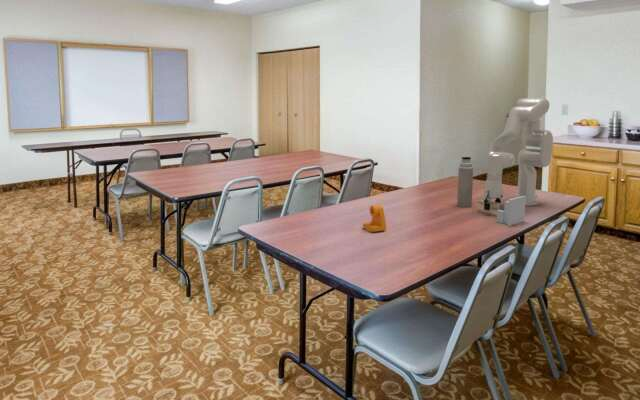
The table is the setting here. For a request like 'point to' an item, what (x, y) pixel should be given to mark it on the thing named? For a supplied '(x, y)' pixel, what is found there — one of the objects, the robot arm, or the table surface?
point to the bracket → (376, 219)
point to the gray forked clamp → (512, 211)
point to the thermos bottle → (465, 183)
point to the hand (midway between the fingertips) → (492, 208)
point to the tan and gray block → (493, 207)
